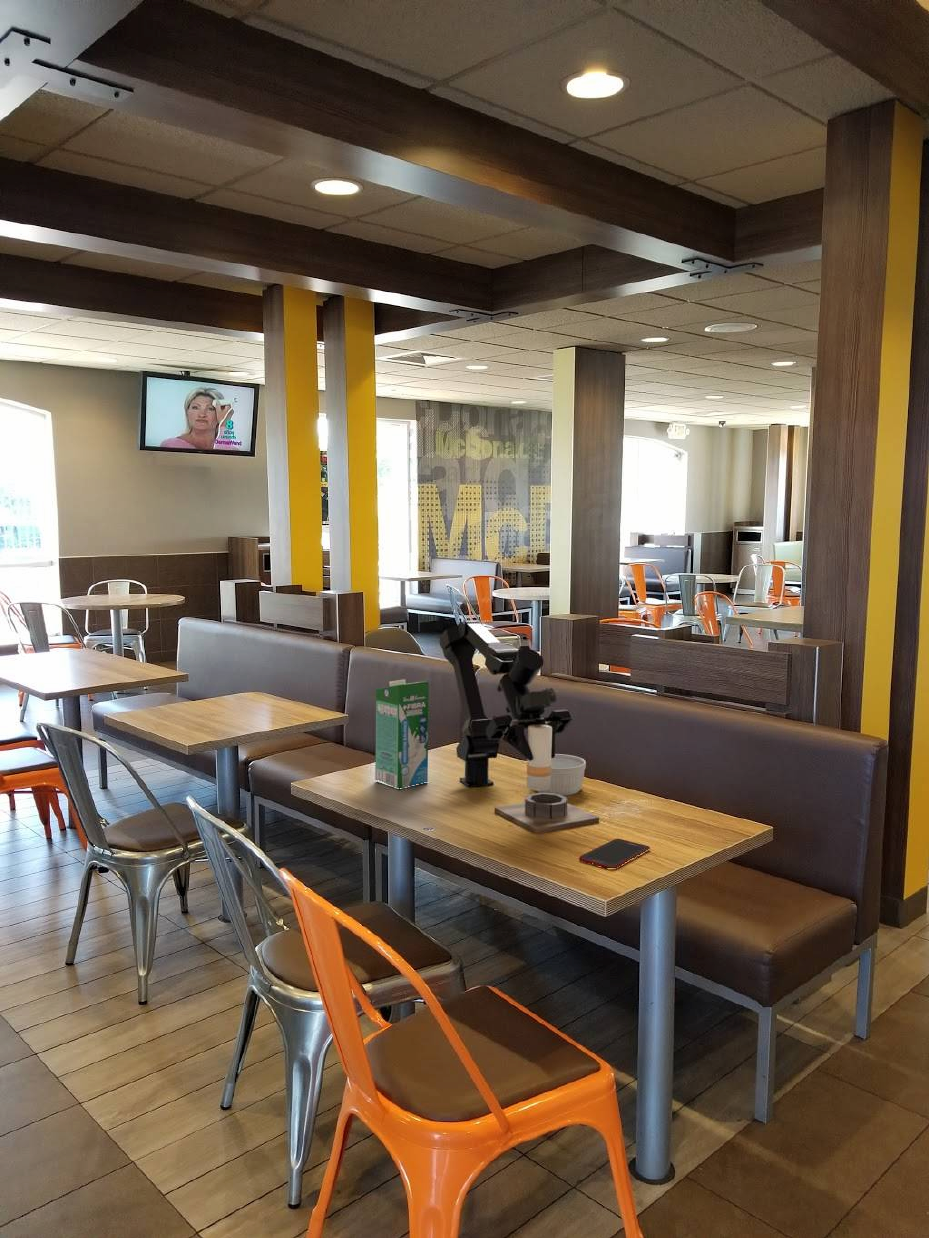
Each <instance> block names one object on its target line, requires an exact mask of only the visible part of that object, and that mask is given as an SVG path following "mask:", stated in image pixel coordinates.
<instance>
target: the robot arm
mask: <svg viewBox="0 0 929 1238" xmlns="http://www.w3.org/2000/svg"><path fill="white" fill-rule="evenodd" d="M439 646H440V648H441V650H442V653H443V656H444V658H445V659H446V660H447V662H449V664H450V665H451V666H452V667H453V671H454V675H455V679H456V684H457V689H458V692H459V697H460V702H461V706H462V710H463V711H462V712H463V715H464V719H465V722H464V725H463V728H462V731H461V737H462V738H461V739H460V741H459V743H458V744H457V747H456V757H457V758H459V759H460V760H462V761H463V762H464V777H460V778H459V782H461V783H463V784H464V785H466V786H467V787H470V788H472V787H481V786H490V785H491V786H493V785H494V781H492V780H491V779H489V773H490V772H489V771H490V770H489V768H490V767H489V766H490V765H489V764H490V763H489V762H490V759H497V757H498V753H499V748H500V744H501V739H502V742H504V743H505V742H506V743H508V744H509V745H510V746H512V747H513V748H514V749H516V750H517V751H518V752H519V753H520V754H522V755H523V757H525V758H526V759H528V760H529V761H532V759H533V756H532V752H531V750H530V747H529V745H528V739H527V737H526V735H525V730H528V726H530V725H538V724H539V725H548V726H551V727H552V750H551V758H554V757H555V754H556V734H562V733H563V732H565V731H566V729H567V728H568V727H569V725H570V724H571V722H572V721H573V716H572V713H571V712H570V711H569V710H568V709H558V710H557V709H556V710H552V711H551V712H550V714H549V715H548V716H547V717H541V715H543V714H545V709H546V708H547V707H551V706H552V704H554V703H556V702H557V695H556V692H555V690H554V688H553V687H548V688H544V689H542V691H531V690H530V687H529V685H530V684H531V683H533V681H534V680H535V679H536V677H537V675H538V673H540V671H541V670H542V668H543V666H544V658H543V656H542V655H540V653H538V652H537V651H536V650H534V649H531V647H530V646H529V645H527V644H526V645H520V646H519V648H516V647H514V646H513V645H512V644H511V645H510V644H506V643H502V642H500V641H499V639H497V637H496V636H494V635H493V634H492V633H491V632H490V631H489V630H488V629H487V628H486V627H485V626H484V625H483V622H482V621H481V620H478V619H473V620H472V619H469V620H467V619H466V620H465V619H464V620H463V621H460V622H459V623H458V624H457V625H454V626H452V627H451V626H450V627H449V628H446V629H445V630H444V631H443V633H441V634H440V636H439ZM476 650H477V651H478V652H479V653H480V654H481V655H482V656H483V657H484V658H485V662H484V666H485V667H486V668H487V671H488V672H489V673H490V674H491V675H493V676H498V675H499V676H500V675H502V676H501V678H500V679H499V682H498V685H497V687H496V688H497V689H496V691H497V692H499V693H501V692H502V694H503V696H504V699H505V702H506V705H507V706H506V708H505V711H506V713H507V714H499V715H493V717H492V718H489V717H488V716H486V714H485V708H484V705H483V699H482V696H481V691H480V686H479V684H478V679H477V675H476V670H475V666H474V662H473V659H474V656H475V654H476ZM508 713H509V714H508ZM502 737H503V738H502Z"/></svg>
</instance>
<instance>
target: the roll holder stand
mask: <svg viewBox="0 0 929 1238" xmlns="http://www.w3.org/2000/svg"><path fill="white" fill-rule="evenodd" d="M568 800H569V799H568V797H566V796H565V795H563V796H562V795H559V794H554V793H540V792H536V793H530V794H527V795H526V797H525V798H524V802H520V803H513V804H507V805H501V806H495V807H494V813H496V814H497V815H499V816H501V817H503V818H505V819H507V820H509V821H510V822H512V823H515V824H517V825H519V826H521V827H523V828H525V829H526V830H529V832H532V833H534V834H535V835H536V834H543V833H546V832H547V833H548V832H553V831H554V832H555V831H560V830H563V829H569V828H574V827H579V826H585V825H590V824H596V823H597V824H598V823H599V822H600V817H599V816H597V815H594V814H593V813H590V812H589V811H586V810H583V809H581V808H579V807H577V806H575V805H572V804H570V803H568Z"/></svg>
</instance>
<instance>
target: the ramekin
mask: <svg viewBox="0 0 929 1238" xmlns="http://www.w3.org/2000/svg"><path fill="white" fill-rule="evenodd" d="M586 768H587V762H586V760H585V759H584V758H582V757H579V756H576V755H571V754H564V753H563V754H562V753H555V757H554V758H551V785H550V789H549V790H545V791H537V793H554V794H559V795H562V796H571V795H575V794H577V793H579V792H580V790H582V787H583V782H584V777H585V769H586Z"/></svg>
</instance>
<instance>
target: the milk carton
mask: <svg viewBox="0 0 929 1238" xmlns="http://www.w3.org/2000/svg"><path fill="white" fill-rule="evenodd" d="M388 684H389V686H385V687H380V688H375V755H374V757H375V763H374V764H375V769H374V771H375V773H374V774H375V775H374V776H375V780H379V781H382V782H384V783H386V784H388V785H391V786H393V787H396V788H399V789H400V788H405V787H408V786H412V785H416V784H421V783H424V782H428V783H429V780H428V778H429V777H428V775H429V774H428V773H429V767H428V766H429V696H430V693H429V688H430V687H429V686H430V685H429V680H425V681H418V682H409V683H406V679H405V678H404V679H399V680H398V679H397V680H391V681H389V683H388ZM375 780H374V781H375ZM405 789H406V788H405Z"/></svg>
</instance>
